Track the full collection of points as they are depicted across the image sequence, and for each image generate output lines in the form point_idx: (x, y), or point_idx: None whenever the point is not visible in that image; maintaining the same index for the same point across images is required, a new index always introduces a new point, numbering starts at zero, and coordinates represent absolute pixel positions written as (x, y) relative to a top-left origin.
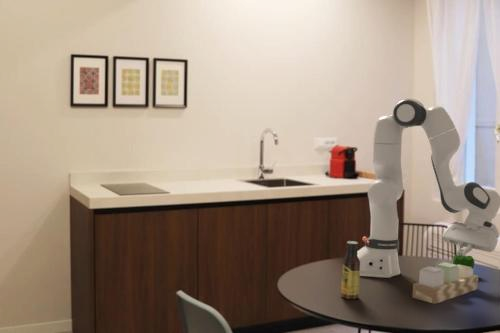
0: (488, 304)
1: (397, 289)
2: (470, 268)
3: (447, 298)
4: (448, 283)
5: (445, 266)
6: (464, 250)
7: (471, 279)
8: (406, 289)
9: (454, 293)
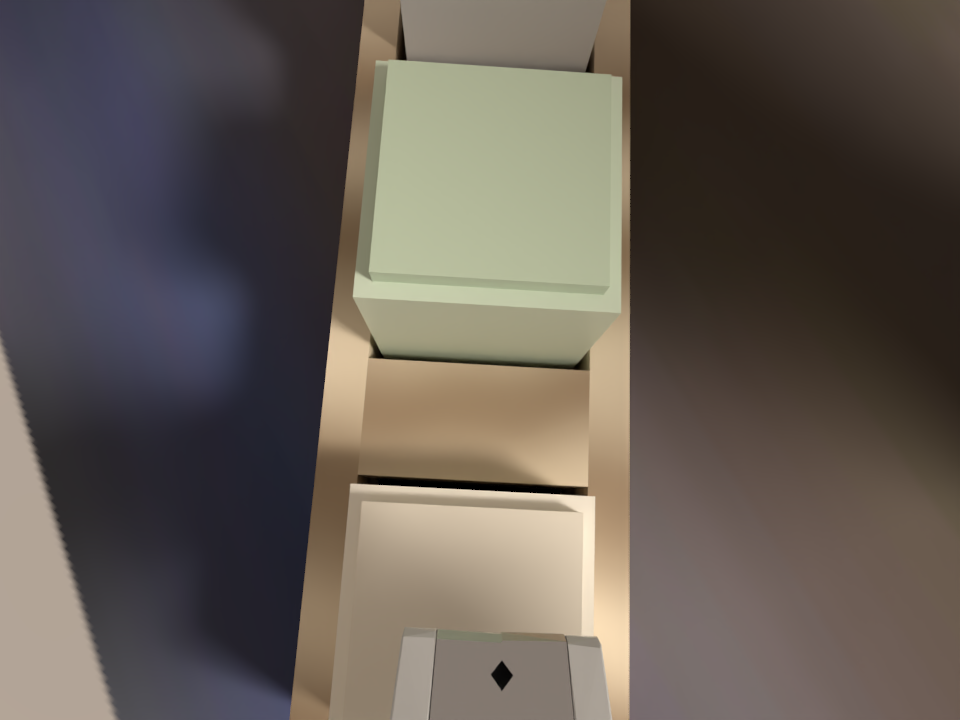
0: (50, 288)
1: (817, 94)
2: (346, 702)
3: None
4: None
5: (467, 68)
6: (411, 711)
7: (307, 573)
8: (772, 149)
9: None
